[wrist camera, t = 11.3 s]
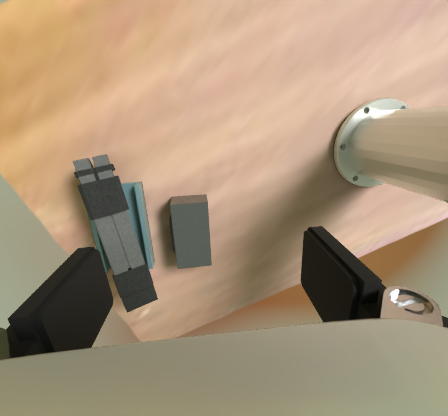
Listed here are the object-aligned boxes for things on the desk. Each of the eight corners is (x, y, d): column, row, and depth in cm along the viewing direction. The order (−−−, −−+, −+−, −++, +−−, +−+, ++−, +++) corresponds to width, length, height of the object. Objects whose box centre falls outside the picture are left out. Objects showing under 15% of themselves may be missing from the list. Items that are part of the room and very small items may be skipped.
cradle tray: (141, 181, 33) (138, 185, 31) (154, 261, 37) (152, 268, 36) (87, 185, 32) (81, 189, 30) (107, 265, 37) (103, 273, 35)
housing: (206, 194, 35) (207, 201, 31) (209, 253, 38) (211, 265, 35) (169, 197, 34) (166, 204, 31) (176, 256, 38) (174, 269, 34)
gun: (127, 297, 37) (124, 323, 28) (85, 175, 36) (67, 160, 26) (155, 285, 38) (161, 306, 29) (116, 168, 37) (109, 151, 28)
